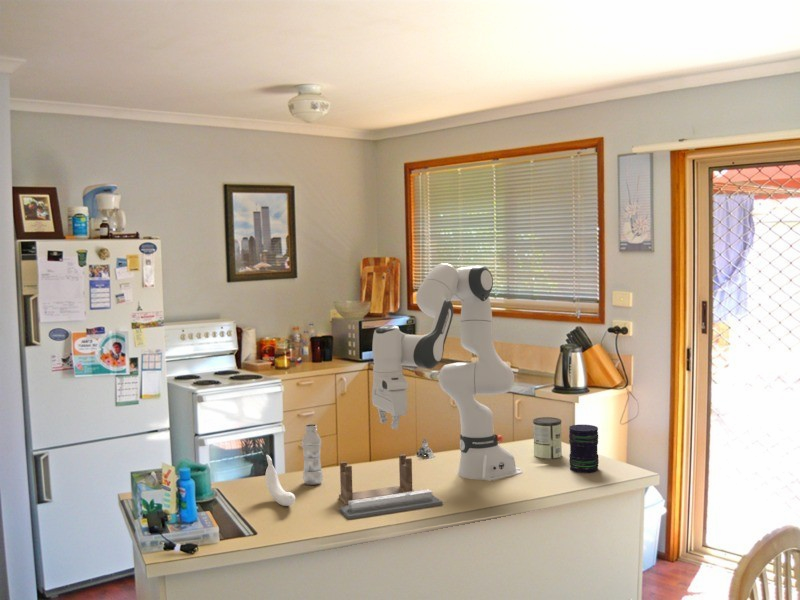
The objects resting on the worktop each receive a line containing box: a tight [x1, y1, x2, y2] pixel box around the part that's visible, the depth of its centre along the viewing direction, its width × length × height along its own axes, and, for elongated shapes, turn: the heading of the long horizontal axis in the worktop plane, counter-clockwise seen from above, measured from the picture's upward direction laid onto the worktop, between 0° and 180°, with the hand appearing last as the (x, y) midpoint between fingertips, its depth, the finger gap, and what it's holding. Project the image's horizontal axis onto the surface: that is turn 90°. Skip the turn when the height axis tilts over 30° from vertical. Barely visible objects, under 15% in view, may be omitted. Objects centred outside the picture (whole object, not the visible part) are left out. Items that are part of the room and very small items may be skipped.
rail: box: [347, 488, 433, 512], centre depth 239 cm, size 26×3×2 cm, turn 112°
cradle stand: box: [338, 454, 415, 505], centre depth 251 cm, size 23×7×12 cm, turn 112°
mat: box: [338, 494, 444, 520], centre depth 239 cm, size 30×9×1 cm, turn 112°
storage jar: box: [568, 424, 599, 474], centre depth 275 cm, size 10×10×15 cm
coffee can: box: [532, 416, 563, 461], centre depth 292 cm, size 10×10×14 cm
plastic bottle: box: [301, 423, 324, 486], centre depth 265 cm, size 6×7×20 cm
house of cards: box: [415, 438, 436, 459], centre depth 297 cm, size 9×9×8 cm
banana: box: [265, 454, 296, 507], centre depth 244 cm, size 5×19×15 cm, turn 35°
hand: (389, 425), depth 238 cm, fingers open, 8 cm apart
